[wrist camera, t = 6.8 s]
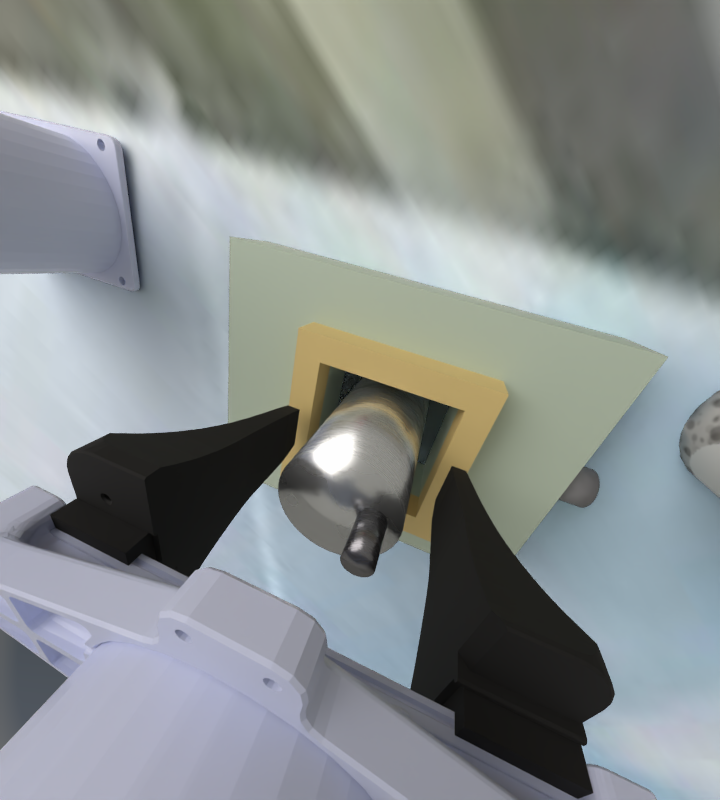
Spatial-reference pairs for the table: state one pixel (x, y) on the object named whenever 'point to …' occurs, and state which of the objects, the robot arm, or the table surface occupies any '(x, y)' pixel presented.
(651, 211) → the table surface
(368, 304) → the green board with socket
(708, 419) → the mug
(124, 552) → the robot arm
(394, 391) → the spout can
